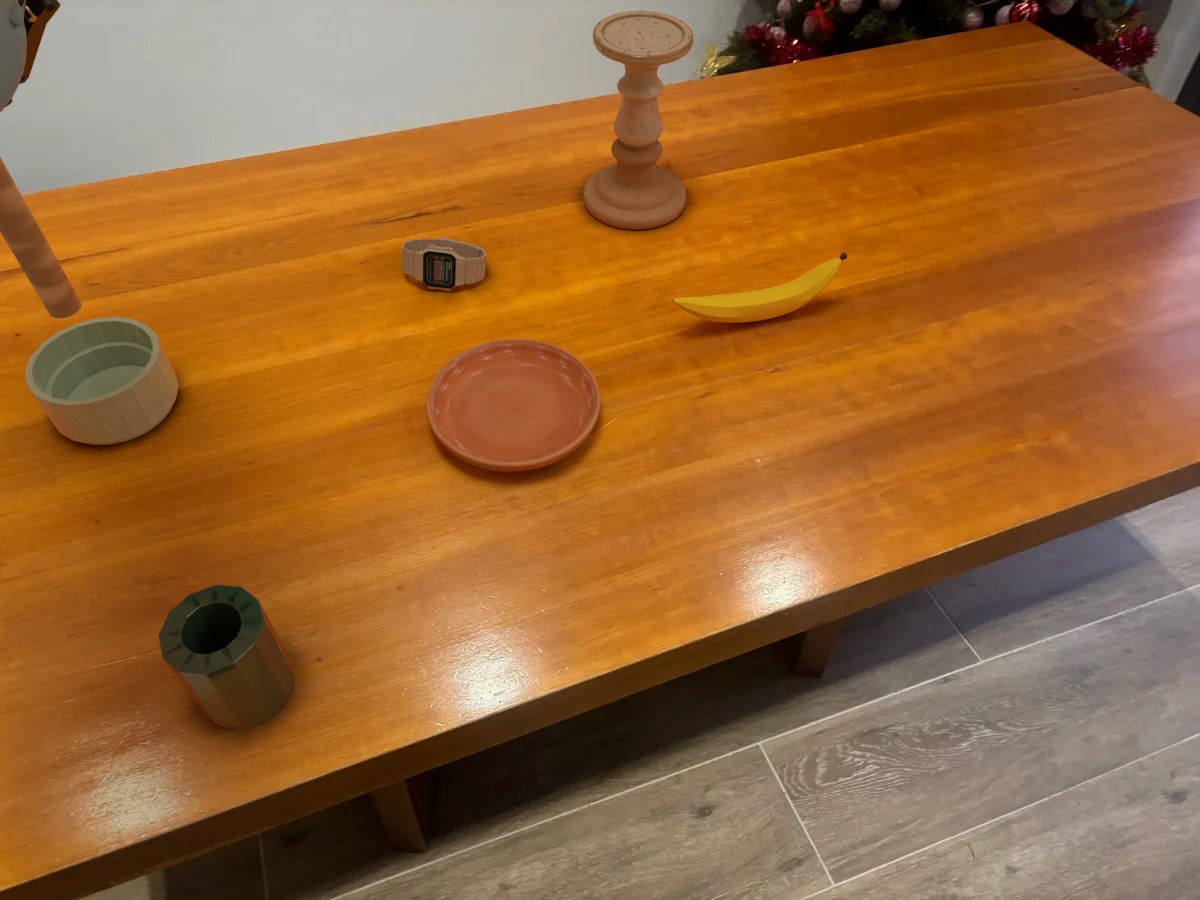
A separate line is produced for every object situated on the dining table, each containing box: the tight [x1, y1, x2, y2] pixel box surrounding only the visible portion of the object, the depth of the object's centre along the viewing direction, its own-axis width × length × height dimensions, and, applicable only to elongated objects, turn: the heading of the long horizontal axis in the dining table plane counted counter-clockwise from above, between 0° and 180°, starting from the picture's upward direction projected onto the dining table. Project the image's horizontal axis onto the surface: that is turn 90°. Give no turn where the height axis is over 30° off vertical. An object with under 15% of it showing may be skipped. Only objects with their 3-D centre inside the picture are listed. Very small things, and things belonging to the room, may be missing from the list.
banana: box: [671, 252, 848, 323], centre depth 92 cm, size 3×19×6 cm, turn 108°
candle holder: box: [582, 10, 694, 231], centre depth 100 cm, size 12×12×20 cm
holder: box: [158, 584, 295, 730], centre depth 64 cm, size 7×7×9 cm
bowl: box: [24, 316, 180, 446], centre depth 83 cm, size 11×11×6 cm
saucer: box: [425, 338, 601, 473], centre depth 84 cm, size 16×16×3 cm
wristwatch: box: [401, 236, 487, 292], centre depth 97 cm, size 9×6×5 cm
